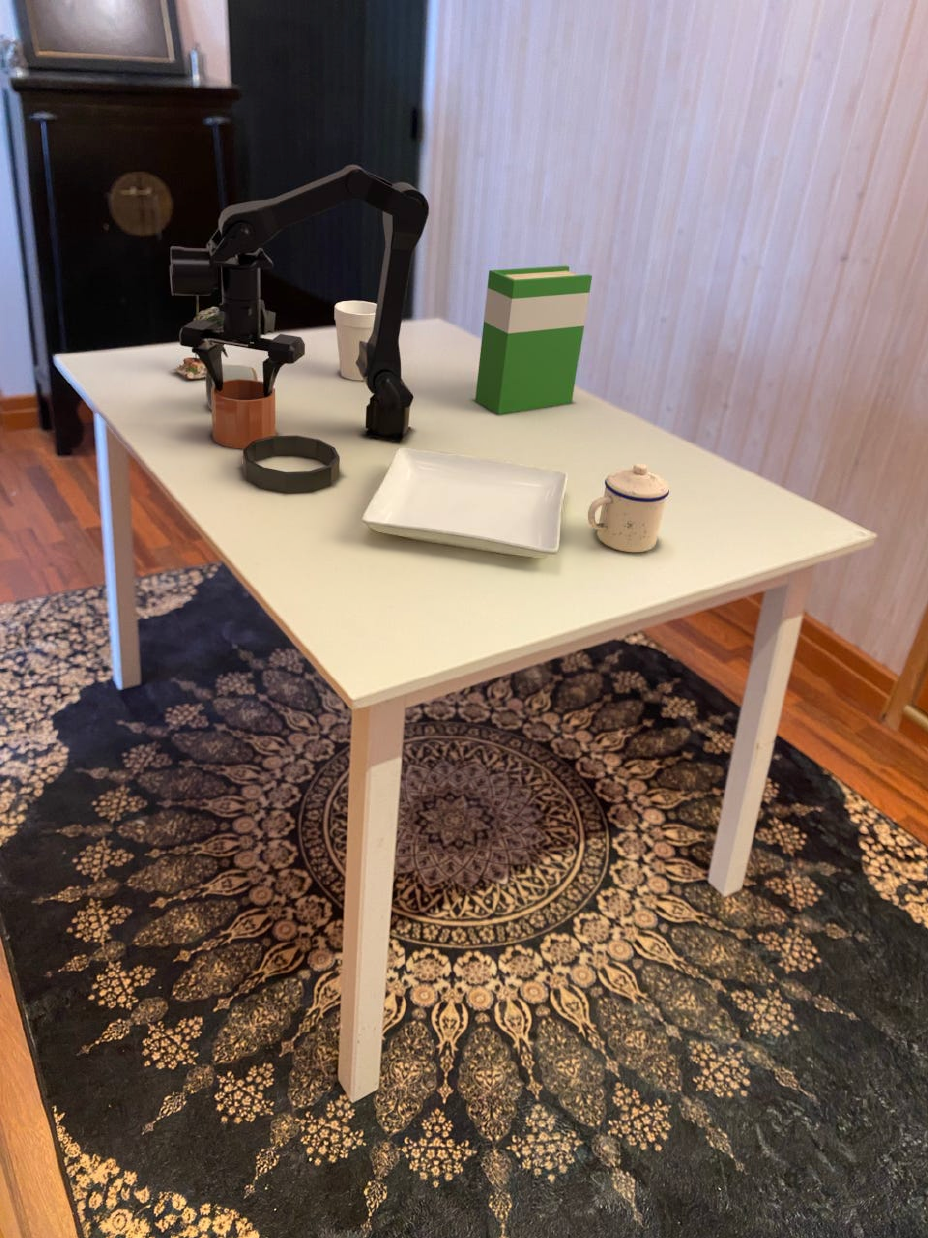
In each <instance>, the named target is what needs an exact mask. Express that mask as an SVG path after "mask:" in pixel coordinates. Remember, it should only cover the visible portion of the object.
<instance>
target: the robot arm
mask: <svg viewBox="0 0 928 1238" xmlns="http://www.w3.org/2000/svg"><path fill="white" fill-rule="evenodd" d="M354 199H359V200H361V201H363V202H366V203H367V204H369V205H371V206H373V207H374V208H377V209H378V210H380V211H382V224H383V235H384V240H385V241H384V242H385V247H384V253H383V259H382V260H383V261H382V267H381V274H380V280H379V287H378V293H377V294H378V295H377V302H376V304H377V307H376V314H375V321H374V328H373V332H372V335H371V337H370V338H369V340H368V342H363V341H359V356H358V359H357V361H356V365H357V367H358V368H359V372H360V375H361V377H362V378H363V380H362V381H364V383H365V385H366V386H367V389H368V390H369V391H370V392H371V393H372V396H370V398H369V403H368V404H367V405H366V407H365V427H364V428H365V430H366V431H365V432H364V436H365V437H367V438H373V439H379V440H383V441H384V440H385V441H390V442H395V443H402V442H403V441H404V440H405V438H406V437H407V436H408V434H409V433H410V432H411V431H412V427H411V426H409V423H410V408H411V405H412V402H413V400H414V398H415V397H414V395H413V393H412V391H411V389H409V387H408V386H407V384H406V383H405V381H404V380H403V378H402V357H401V349H400V336H401V335H400V334H401V327H402V322H403V316H404V315H403V314H404V310H405V303H406V296H407V291H408V286H409V285H408V282H409V277H410V274H411V273H410V272H411V265H412V259H413V253H414V251H415V248H416V247H417V245H418V243H419V241H420V240H421V238H422V236H423V234H424V230H425V227H426V224H427V222H428V220H429V219H428V218H429V215H430V205H429V202H428V200H427V198H426V197H425V195H424V194H423V193H421V192H420V191H419V190H417V188H416V187H414V186H413V185H411V184H410V183H408V182H404V181H399V182H395V183H392V182H390V181H388V180H386V179H384V178H382V177H380V176H378V175H375V174H373V173H371V172H368V171H367V170H364V169H363V168H362V167H361V166H359V165H357V164H348V165H346V166H344V168H343V169H341V170H339V171H337V172H334V173H331V174H329V175H327V176H324V177H321V178H319V179H317V180H315V181H312V182H309V183H307V184H305V185H303V186H300V187H298V188H296V189H292V190H290V191H288V192H286V193H283V194H281V195H279V196H276V197H273V198H268V199H260V200H250V201H246V202H245V201H244V202H240V203H236V204H232V205H229V206H227V207H225V208H224V209H223V210H222V211H221V213H220V216H219V218H218V228H217V229H216V231H215V232H214V234H213V235H212V236H211V237H210V239H209V241H208V242H207V243H206V245H205V247H206V248H199V247H198V248H197V247H184V246H177V245H176V246H175V245H172V246H171V247H170V265H169V276H170V277H169V278H170V289H171V296H195V297H196V296H198V297H199V296H206V297H209V296H211V295H212V293H215V290H218V288H219V273H218V272H219V271H218V268H220V269H221V271H220V272H221V273H220V274H221V297H222V298H221V303H218V308H219V311H221V312H223V330H222V331H218V326H217V325H216V323H213V322H207V321H201V320H194V319H193V320H192V321H191V322H188V323H187V324H185V325H184V326H182V327H181V328H180V330H179V334H178V339H179V345H180V346H182V347H187V348H191V353H193V354H197V355H196V356H197V357H198V358H200V360H201V361H202V363H203V364H204V366H205V367H206V369H207V371H208V372H209V374H210V376H211V378H212V380H213V382H214V384H215V386H216V388H217V390H218V391H221V390H223V370H222V364H223V358H222V354H223V352H222V349H223V344H224V346H225V345H226V346H231V347H232V346H233V347H237V348H244V349H248V350H257V351H261V352H267V358H266V359H264V360H263V361H262V365H261V366H262V382H263V393H264V398H265V397H268V396H269V395H270V394H271V391H272V388H274V385H275V382H276V380H277V377H278V374H279V372H280V370H281V369H282V367H284V365H294V364H295V363H296V362H297V361H298V360H299V359H301V358H303V356H305V355H306V344H305V341H304V340H303V338H302V337H301V336H297V335H290V334H284V333H280V334H278V335H277V336H275V337H273V338H271V339H270V338H266V337H262V336H266V335H267V334H268V333H271V334H273V333H274V331H275V324H276V316H277V315H276V314H277V312H274V311H271V310H268V309H265V303H264V300H263V299H261V269H273V268H274V263H273V261H272V259H271V257H269V256H268V255H266V253H265V251H264V250H263V248H262V246H263V245H265V244H267V243H268V242H270V241H271V240H272V239H273V238H274V237H276V235H277V234H279V233H280V232H282V231H283V230H284V229H286V228H287V227H290V226H291V225H295V224H296V223H299V222H301V221H304V220H307V219H308V218H311V217H313V216H315V215H318V214H321V213H323V212H325V211H328V210H330V209H332V208H335V207H339V206H340V205H342V204H345V203H347V202H349V201H352V200H354ZM252 252H253V253H252Z"/></svg>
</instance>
